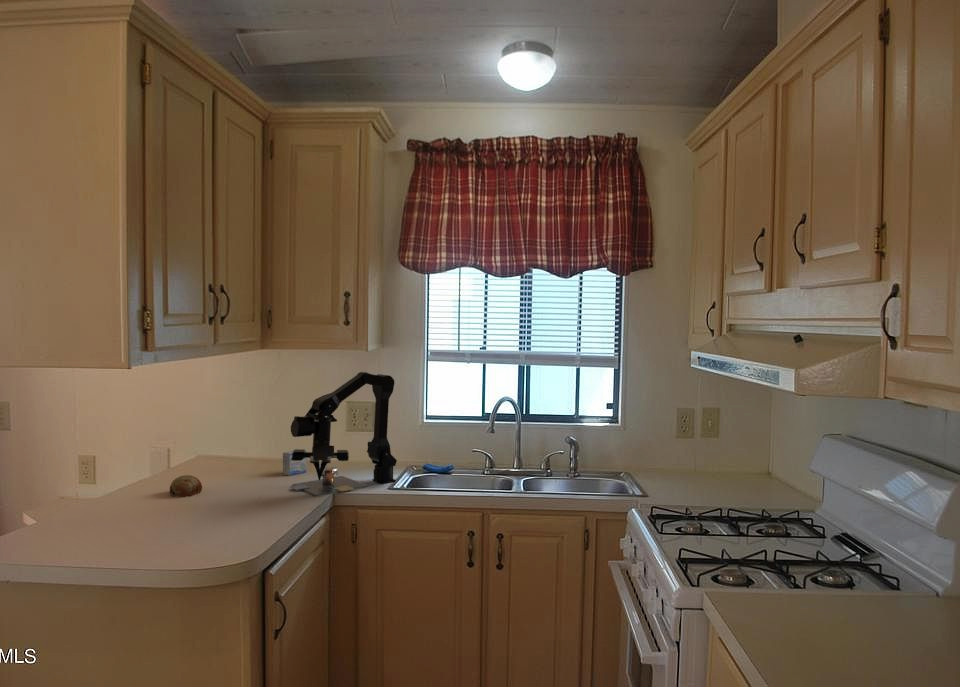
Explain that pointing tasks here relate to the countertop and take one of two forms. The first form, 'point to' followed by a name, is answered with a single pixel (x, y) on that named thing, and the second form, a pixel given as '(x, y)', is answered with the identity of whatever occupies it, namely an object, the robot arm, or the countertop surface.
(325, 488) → the post base
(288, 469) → the medicine box
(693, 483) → the countertop surface
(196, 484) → the bread roll
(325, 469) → the collar lever
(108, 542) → the countertop surface
